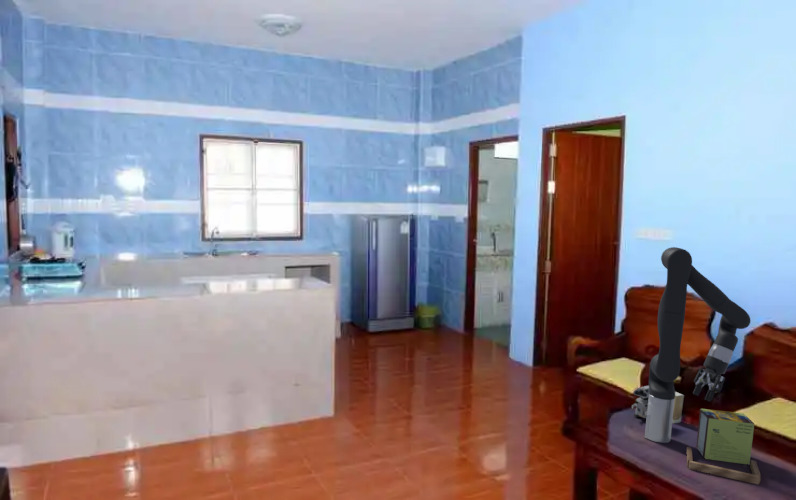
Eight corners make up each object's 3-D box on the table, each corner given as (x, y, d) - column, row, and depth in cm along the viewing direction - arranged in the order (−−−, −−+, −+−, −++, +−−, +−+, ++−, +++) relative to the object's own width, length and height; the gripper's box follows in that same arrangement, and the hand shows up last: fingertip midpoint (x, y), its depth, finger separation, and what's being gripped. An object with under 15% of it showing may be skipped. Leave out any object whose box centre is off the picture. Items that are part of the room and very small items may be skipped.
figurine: (624, 418, 245) (627, 384, 244) (643, 415, 250) (646, 382, 249) (641, 427, 237) (645, 391, 235) (661, 423, 242) (664, 389, 240)
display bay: (687, 468, 202) (688, 461, 201) (686, 453, 214) (687, 446, 214) (760, 485, 192) (761, 477, 192) (755, 467, 205) (755, 461, 205)
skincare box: (661, 418, 248) (664, 390, 247) (668, 417, 250) (671, 389, 249) (674, 423, 242) (677, 395, 241) (681, 422, 244) (684, 394, 243)
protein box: (750, 465, 207) (755, 423, 206) (703, 459, 210) (708, 418, 209) (739, 452, 217) (744, 412, 216) (695, 447, 220) (699, 407, 219)
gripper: (699, 351, 225) (682, 389, 225) (720, 357, 211) (702, 398, 211) (717, 359, 225) (700, 397, 225) (738, 366, 211) (721, 406, 211)
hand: (701, 397), depth 218 cm, fingers open, 8 cm apart
